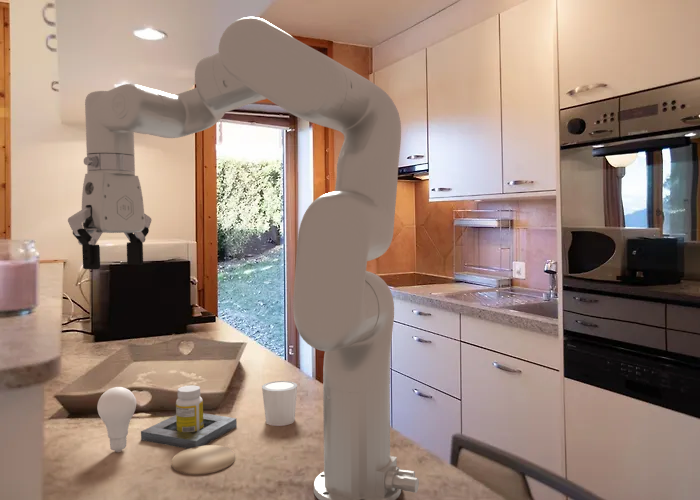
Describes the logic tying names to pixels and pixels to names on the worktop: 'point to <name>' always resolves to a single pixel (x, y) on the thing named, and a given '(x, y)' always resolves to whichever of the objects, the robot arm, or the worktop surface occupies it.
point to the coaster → (203, 459)
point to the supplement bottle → (189, 409)
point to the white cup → (279, 402)
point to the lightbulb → (117, 414)
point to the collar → (169, 436)
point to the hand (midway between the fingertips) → (114, 266)
